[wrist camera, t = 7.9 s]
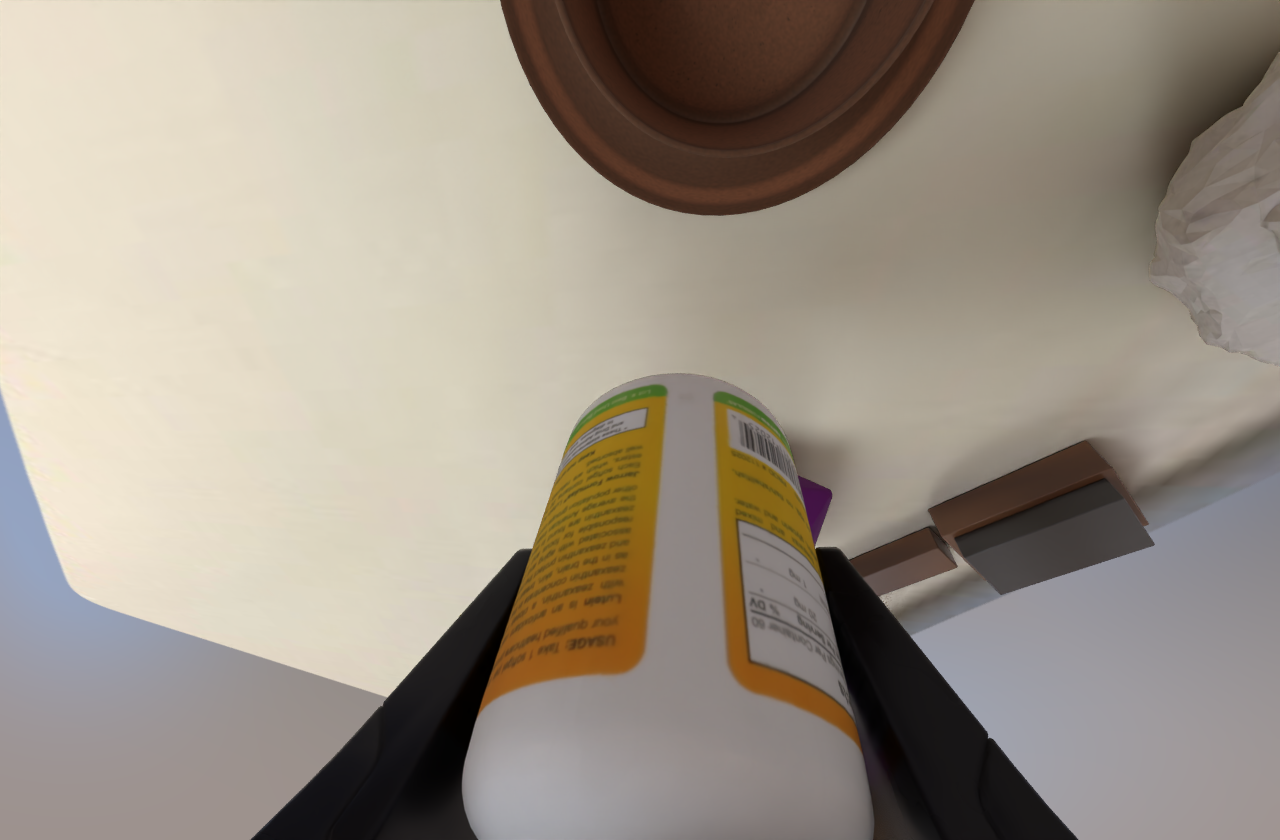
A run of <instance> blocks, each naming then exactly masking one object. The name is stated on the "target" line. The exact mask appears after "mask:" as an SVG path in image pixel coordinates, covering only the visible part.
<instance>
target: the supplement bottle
mask: <svg viewBox="0 0 1280 840" xmlns="http://www.w3.org/2000/svg"><path fill="white" fill-rule="evenodd" d="M462 796H463V803H464V809H465V813H466V815H467V818H468V821H469V824H470V827H471V828H472V830H473V832H474V834H475V835H476V837H477V839H478V840H873V834H874V814H873V805H872V798H871V793H870V788H869V782H868V777H867V772H866V766H865V761H864V756H863V752H862V748H861V743H860V739H859V735H858V731H857V726H856V721H855V717H854V713H853V709H852V706H851V702H850V698H849V693H848V689H847V684H846V680H845V676H844V672H843V668H842V663H841V659H840V655H839V651H838V646H837V642H836V638H835V633H834V629H833V625H832V620H831V616H830V612H829V607H828V603H827V599H826V594H825V590H824V585H823V581H822V577H821V572H820V568H819V564H818V560H817V555H816V551H815V547H814V543H813V538H812V534H811V530H810V526H809V522H808V518H807V513H806V509H805V505H804V501H803V496H802V492H801V488H800V484H799V479H798V475H797V471H796V467H795V463H794V459H793V456H792V453H791V450H790V446H789V443H788V440H787V438H786V435H785V433H784V431H783V429H782V428H781V426H780V424H779V423H778V421H777V420H776V418H775V417H774V416H773V414H772V413H771V412H770V411H769V410H768V409H767V408H766V407H765V406H764V405H763V404H762V403H761V402H760V401H758V400H757V399H756V398H754V397H753V396H751V395H750V394H748V393H747V392H745V391H744V390H742V389H740V388H738V387H736V386H734V385H732V384H730V383H727V382H725V381H722V380H718V379H715V378H712V377H707V376H702V375H694V374H682V373H676V374H661V375H653V376H647V377H644V378H640V379H636V380H633V381H630V382H627V383H624V384H622V385H620V386H618V387H616V388H613V389H612V390H610V391H608V392H607V393H605V394H604V395H602V396H601V397H599V398H598V399H597V400H596V401H594V402H593V403H592V404H591V405H590V406H589V407H588V408H587V409H586V410H585V411H584V413H583V414H582V415H581V417H580V418H579V420H578V421H577V423H576V425H575V427H574V429H573V431H572V434H571V436H570V438H569V441H568V443H567V446H566V449H565V451H564V454H563V458H562V461H561V464H560V466H559V469H558V473H557V476H556V479H555V482H554V486H553V489H552V492H551V495H550V498H549V501H548V503H547V506H546V509H545V512H544V515H543V518H542V522H541V525H540V528H539V531H538V534H537V537H536V540H535V543H534V546H533V549H532V552H531V555H530V558H529V561H528V564H527V567H526V570H525V573H524V576H523V579H522V583H521V586H520V588H519V591H518V594H517V597H516V600H515V603H514V606H513V609H512V612H511V615H510V618H509V621H508V624H507V627H506V630H505V633H504V636H503V639H502V642H501V645H500V648H499V651H498V654H497V657H496V660H495V663H494V667H493V670H492V673H491V676H490V679H489V682H488V685H487V688H486V690H485V693H484V696H483V699H482V703H481V706H480V709H479V712H478V716H477V719H476V722H475V726H474V729H473V733H472V737H471V741H470V744H469V748H468V752H467V755H466V759H465V763H464V769H463V777H462Z"/></svg>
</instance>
